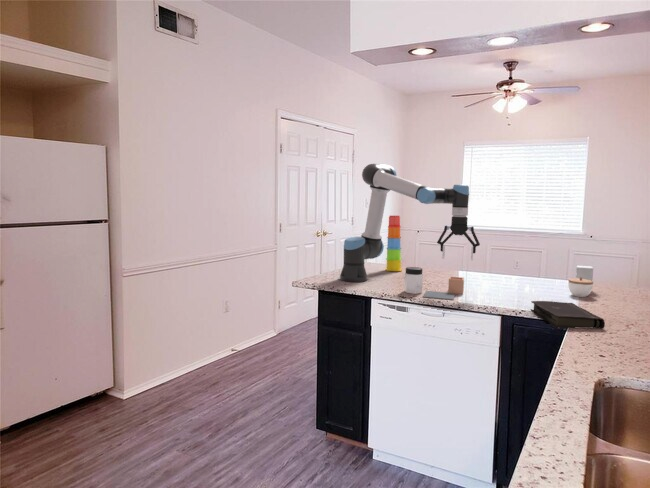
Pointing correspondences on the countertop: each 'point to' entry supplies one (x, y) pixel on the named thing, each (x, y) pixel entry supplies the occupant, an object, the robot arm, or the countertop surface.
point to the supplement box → (584, 272)
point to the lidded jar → (580, 286)
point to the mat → (439, 295)
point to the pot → (456, 285)
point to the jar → (413, 280)
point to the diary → (566, 315)
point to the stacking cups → (394, 245)
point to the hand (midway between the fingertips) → (457, 259)
